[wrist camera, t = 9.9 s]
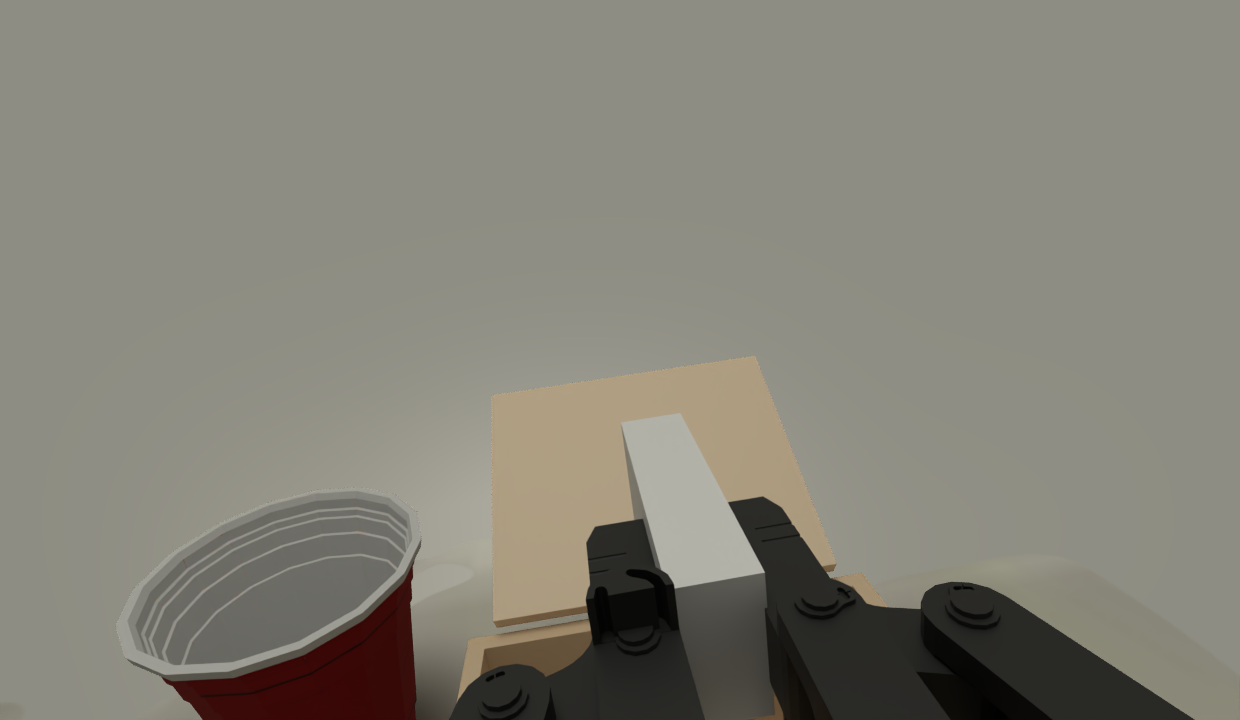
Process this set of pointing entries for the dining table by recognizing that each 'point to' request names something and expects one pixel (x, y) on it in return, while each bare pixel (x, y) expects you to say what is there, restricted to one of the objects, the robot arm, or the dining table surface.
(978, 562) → the dining table surface
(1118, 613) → the dining table surface
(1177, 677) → the dining table surface
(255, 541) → the plastic cup
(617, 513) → the flap
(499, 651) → the carton
